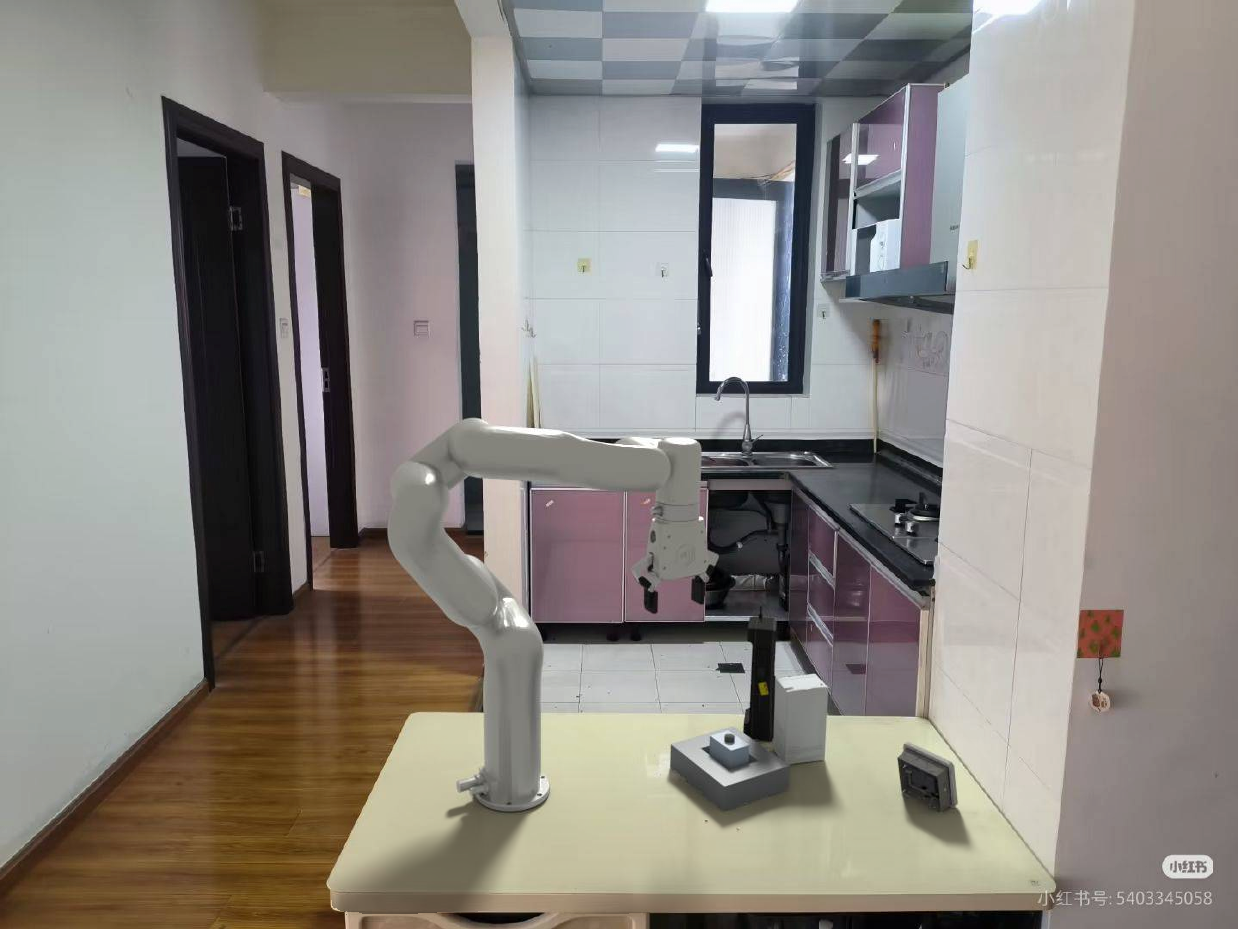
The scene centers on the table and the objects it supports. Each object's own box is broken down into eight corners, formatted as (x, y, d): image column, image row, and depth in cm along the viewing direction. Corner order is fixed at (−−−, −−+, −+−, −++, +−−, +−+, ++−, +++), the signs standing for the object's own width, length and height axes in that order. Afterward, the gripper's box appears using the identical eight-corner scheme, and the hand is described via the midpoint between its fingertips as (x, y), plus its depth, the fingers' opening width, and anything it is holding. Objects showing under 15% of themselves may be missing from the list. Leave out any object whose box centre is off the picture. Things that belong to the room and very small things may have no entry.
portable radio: (774, 745, 170) (781, 620, 166) (742, 742, 172) (748, 617, 167) (775, 726, 178) (782, 606, 173) (745, 723, 179) (750, 603, 174)
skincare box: (812, 746, 171) (816, 672, 168) (826, 762, 165) (831, 686, 162) (770, 750, 169) (774, 675, 166) (783, 766, 163) (787, 690, 160)
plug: (729, 782, 155) (731, 746, 154) (708, 767, 160) (710, 731, 159) (747, 776, 157) (749, 740, 156) (726, 761, 162) (728, 726, 161)
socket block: (723, 811, 149) (724, 786, 148) (670, 767, 162) (670, 744, 161) (789, 789, 156) (790, 765, 155) (732, 748, 169) (733, 726, 168)
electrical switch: (958, 808, 151) (960, 759, 149) (940, 821, 148) (942, 771, 146) (910, 784, 158) (911, 736, 156) (892, 796, 155) (892, 748, 153)
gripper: (645, 521, 146) (643, 622, 149) (731, 510, 154) (727, 605, 158) (622, 511, 152) (620, 608, 155) (706, 501, 161) (702, 592, 164)
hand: (674, 606), depth 156 cm, fingers open, 9 cm apart
